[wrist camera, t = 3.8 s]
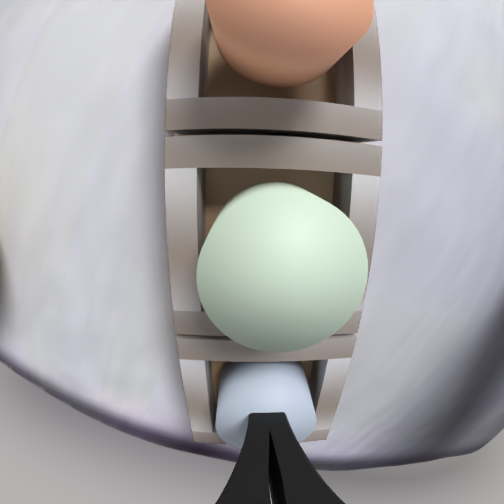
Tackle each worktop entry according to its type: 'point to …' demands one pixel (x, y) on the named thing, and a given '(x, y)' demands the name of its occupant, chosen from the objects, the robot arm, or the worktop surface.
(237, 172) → the panel
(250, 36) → the button terracotta
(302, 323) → the button sage
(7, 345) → the worktop surface
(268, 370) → the button slate
